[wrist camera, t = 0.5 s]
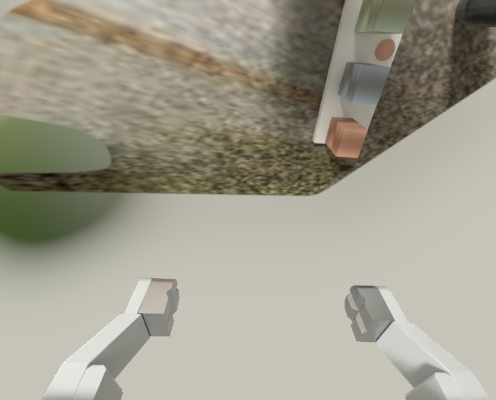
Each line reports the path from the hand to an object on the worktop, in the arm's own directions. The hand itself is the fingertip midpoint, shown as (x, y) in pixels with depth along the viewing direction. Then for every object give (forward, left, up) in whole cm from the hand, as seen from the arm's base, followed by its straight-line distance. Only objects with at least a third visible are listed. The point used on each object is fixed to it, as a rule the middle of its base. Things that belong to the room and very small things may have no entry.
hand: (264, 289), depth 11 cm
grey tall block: (-5, +17, -38) cm, 42 cm away
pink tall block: (+4, +17, -38) cm, 42 cm away
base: (-5, +18, -40) cm, 45 cm away
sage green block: (-14, +17, -38) cm, 44 cm away
